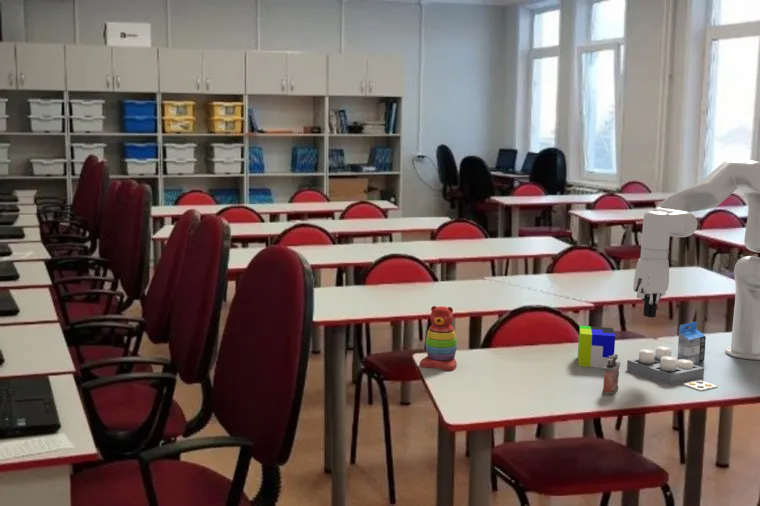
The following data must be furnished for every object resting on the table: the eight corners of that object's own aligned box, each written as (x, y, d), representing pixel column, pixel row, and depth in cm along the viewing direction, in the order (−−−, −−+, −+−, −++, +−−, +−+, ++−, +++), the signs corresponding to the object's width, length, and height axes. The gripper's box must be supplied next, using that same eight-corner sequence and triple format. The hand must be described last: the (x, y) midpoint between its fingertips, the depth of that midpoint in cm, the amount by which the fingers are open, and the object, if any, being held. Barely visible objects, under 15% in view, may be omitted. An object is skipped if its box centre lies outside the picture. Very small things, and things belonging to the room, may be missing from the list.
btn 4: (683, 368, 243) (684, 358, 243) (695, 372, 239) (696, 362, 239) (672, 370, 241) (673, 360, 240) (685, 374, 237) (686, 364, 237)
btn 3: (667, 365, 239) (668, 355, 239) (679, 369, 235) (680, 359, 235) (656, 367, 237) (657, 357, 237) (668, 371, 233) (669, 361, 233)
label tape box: (687, 367, 249) (690, 327, 247) (675, 363, 252) (679, 324, 250) (704, 362, 254) (708, 323, 252) (692, 359, 258) (696, 320, 255)
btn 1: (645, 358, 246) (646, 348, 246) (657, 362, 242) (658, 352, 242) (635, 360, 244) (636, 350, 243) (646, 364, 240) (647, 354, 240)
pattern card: (699, 381, 236) (699, 379, 236) (717, 387, 230) (717, 385, 230) (682, 384, 232) (683, 383, 232) (700, 391, 227) (700, 389, 227)
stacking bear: (417, 366, 245) (419, 308, 242) (428, 358, 254) (430, 301, 251) (452, 371, 241) (454, 312, 238) (462, 362, 250) (464, 305, 247)
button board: (659, 363, 252) (660, 353, 252) (703, 378, 239) (704, 368, 238) (626, 369, 245) (627, 360, 245) (670, 385, 232) (670, 374, 231)
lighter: (612, 396, 221) (614, 360, 220) (599, 394, 223) (601, 358, 221) (620, 388, 228) (623, 353, 226) (608, 386, 230) (610, 351, 228)
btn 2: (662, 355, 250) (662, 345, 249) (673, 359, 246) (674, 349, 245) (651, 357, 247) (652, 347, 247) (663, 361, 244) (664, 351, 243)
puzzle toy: (613, 368, 246) (615, 336, 245) (578, 366, 248) (580, 333, 247) (610, 359, 256) (612, 327, 255) (577, 356, 258) (579, 325, 256)
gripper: (661, 250, 245) (657, 311, 248) (625, 254, 237) (621, 316, 240) (682, 254, 238) (677, 316, 241) (646, 258, 231) (641, 321, 234)
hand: (649, 316), depth 241 cm, fingers closed
